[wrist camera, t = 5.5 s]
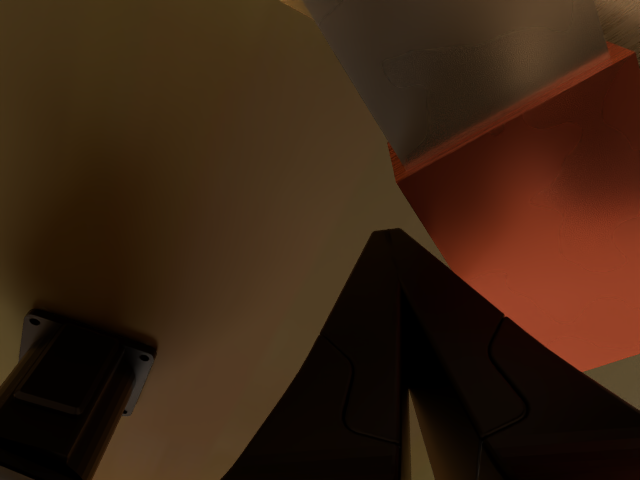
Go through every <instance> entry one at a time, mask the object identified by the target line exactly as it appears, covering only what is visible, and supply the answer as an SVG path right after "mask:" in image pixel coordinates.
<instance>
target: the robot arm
mask: <svg viewBox="0 0 640 480" xmlns="http://www.w3.org/2000/svg"><path fill="white" fill-rule="evenodd" d="M156 355H157V353H156V351H155V350H154V349H153V348H152V347H149V346H146V345H144V344H141V343H138V342H135V341H132V340H129V339H126V338H123V337H120V336H117V335H114V334H111V333H108V332H105V331H102V330H99V329H96V328H93V327H90V326H87V325H84V324H81V323H78V322H75V321H72V320H69V319H66V318H63V317H60V316H57V315H54V314H51V313H48V312H45V311H42V310H39V309H32V310H30V311H29V312H28V314H27V315H26V316H25V318H24V323H23V331H22V339H21V347H20V355H19V362H18V364H17V365H16V367H15V368H14V369H13V370H12V372H11V373H10V374H9V376H8V377H7V378H6V380H5V381H4V382H3V384H2V385H1V386H0V480H92V478H93V476H94V474H95V472H96V470H97V468H98V465H99V463H100V461H101V459H102V457H103V455H104V452H105V450H106V448H107V446H108V444H109V442H110V440H111V437H112V435H113V433H114V431H115V429H116V427H117V424H118V422H119V420H120V418H121V416H130V415H131V414H132V412H133V409H134V407H135V405H136V402H137V400H138V398H139V395H140V393H141V391H142V388H143V386H144V383H145V381H146V379H147V376H148V374H149V372H150V369H151V367H152V364H153V362H154V360H155V357H156ZM409 391H410V395H411V398H412V402H413V405H414V408H415V412H416V415H417V419H418V422H419V426H420V429H421V433H422V436H423V439H424V443H425V446H426V450H427V453H428V457H429V460H430V464H431V467H432V470H433V474H434V477H435V480H640V411H639V410H638V409H636V408H635V407H633V406H632V405H630V404H629V403H627V402H626V401H624V400H623V399H621V398H620V397H618V396H617V395H615V394H614V393H612V392H611V391H609V390H608V389H606V388H605V387H603V386H602V385H600V384H599V383H597V382H596V381H594V380H593V379H591V378H590V377H588V376H587V375H585V374H584V373H582V372H581V371H579V370H578V369H577V368H575V367H574V366H572V365H571V364H569V363H568V362H567V361H565V360H564V359H562V358H561V357H559V356H558V355H557V354H555V353H554V352H552V351H551V350H549V349H548V348H547V347H545V346H544V345H543V344H542V343H540V342H539V341H538V340H536V339H535V338H534V337H533V336H531V335H530V334H529V333H527V332H526V331H525V330H524V329H522V328H521V327H520V326H519V325H517V324H516V323H515V322H514V321H513V320H511V319H510V318H509V317H507V316H506V317H505V315H504V313H503V312H501V311H500V310H499V309H498V308H497V307H495V306H494V305H493V304H492V303H490V302H489V301H488V300H487V299H486V298H484V297H483V296H482V295H481V294H480V293H478V292H477V291H476V290H475V289H473V288H472V287H471V286H470V285H469V284H467V283H466V282H465V281H464V280H463V279H461V278H460V277H459V276H458V275H457V274H455V273H454V272H453V271H452V270H450V269H449V268H448V267H447V266H446V265H444V264H443V263H442V262H441V261H440V260H438V259H437V258H436V257H435V256H433V255H432V254H431V253H430V252H429V251H427V250H426V249H425V248H424V247H423V246H421V245H420V244H419V243H418V242H416V241H415V240H414V239H413V238H412V237H410V236H409V235H408V234H407V233H406V232H404V231H403V230H402V229H400V228H395V229H387V230H379V231H374V232H372V234H371V236H370V238H369V239H368V241H367V243H366V245H365V247H364V249H363V251H362V253H361V255H360V257H359V259H358V261H357V263H356V264H355V266H354V268H353V270H352V272H351V274H350V276H349V278H348V280H347V282H346V284H345V286H344V288H343V289H342V291H341V293H340V295H339V297H338V299H337V301H336V303H335V305H334V307H333V309H332V311H331V313H330V315H329V316H328V318H327V320H326V322H325V324H324V326H323V328H322V330H321V332H320V335H319V336H318V337H317V339H316V341H315V343H314V345H313V347H312V349H311V351H310V352H309V354H308V356H307V358H306V360H305V361H304V363H303V365H302V367H301V368H300V370H299V372H298V373H297V375H296V376H295V378H294V379H293V381H292V382H291V384H290V385H289V387H288V388H287V390H286V391H285V393H284V394H283V396H282V397H281V399H280V400H279V401H278V403H277V404H276V406H275V407H274V409H273V410H272V411H271V413H270V414H269V416H268V417H267V418H266V420H265V421H264V423H263V424H262V425H261V427H260V428H259V430H258V431H257V433H256V434H255V435H254V437H253V438H252V440H251V441H250V442H249V444H248V445H247V447H246V448H245V449H244V451H243V452H242V454H241V455H240V457H239V458H238V459H237V461H236V462H235V463H234V465H233V466H232V467H231V468H230V469H229V471H228V472H227V473H226V474H225V475H224V476H223V477H222V478H221V479H220V480H411V453H410V420H409Z"/></svg>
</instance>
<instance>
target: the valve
mask: <svg viewBox="0 0 640 480" xmlns="http://www.w3.org/2000/svg"><path fill="white" fill-rule="evenodd" d="M279 1H281V2H283V3H285V4H286V5H288V6H290V7H292V8H293V9H295V10H297V11H299V12H301V13H302V14H304V15H306V16H308V17H309V18H311V19H313V17H312V16H311V14H310V12H309V11H308V9H307V8H306V6H305V4H304V3H303V1H302V0H279ZM594 1H595V5H596V8H597V12H598V16H599V19H600V23H601V26H602V30H603V33H604V37H605V40H606V41H608V42H610V43H613V44H615V45H618V46H621V47H623V48H626V49H628V50H631V51H634V52H636V56H637V60H638V64H639V68H640V0H594ZM313 20H314V19H313Z"/></svg>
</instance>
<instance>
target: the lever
mask: <svg viewBox="0 0 640 480" xmlns="http://www.w3.org/2000/svg"><path fill="white" fill-rule="evenodd" d="M302 1H303V3H304V4H305V6H306V8H307V9H308V11H309V12H310V14H311V16H312V17H313V19H314V21H315V22H316V24H317V26H318V27H319V29H320V30H321V32H322V34H323V35H324V37H325V39H326V40H327V42H328V44H329V45H330V47H331V48H332V50H333V52H334V53H335V55H336V57H337V58H338V60H339V61H340V63H341V65H342V66H343V68H344V70H345V71H346V73H347V75H348V76H349V78H350V79H351V81H352V83H353V84H354V86H355V88H356V89H357V91H358V93H359V94H360V96H361V97H362V99H363V101H364V102H365V104H366V106H367V107H368V109H369V111H370V112H371V114H372V115H373V117H374V119H375V120H376V122H377V124H378V125H379V127H380V129H381V130H382V132H383V133H384V135H385V137H386V138H387V140H388V142H387V144H388V148H389V153H390V157H391V162H392V166H393V171H394V175H395V179H396V183H397V185H398V186H399V188H400V189H401V191H402V193H403V194H404V196H405V197H406V199H407V200H408V202H409V204H410V205H411V207H412V208H413V210H414V211H415V213H416V215H417V216H418V218H419V219H420V221H421V222H422V224H423V226H424V227H425V229H426V230H427V232H428V233H429V235H430V237H431V238H432V240H433V241H434V243H435V244H436V246H437V248H438V249H439V251H440V252H441V254H442V255H443V257H444V259H445V260H446V262H447V263H448V265H449V266H450V268H451V270H452V271H453V272H454V273H455V274H457V275H458V276H459V277H460V278H461V279H463V280H464V281H465V282H466V283H467V284H469V285H470V286H471V287H472V288H473V289H475V290H476V291H477V292H478V293H480V294H481V295H482V296H483V297H484V298H486V299H487V300H488V301H489V302H490V303H492V304H493V305H494V306H495V307H497V308H498V309H499V310H500V311H501V312H503V313H504V315H505V317H506V316H507V317H509V318H510V319H511V320H513V321H514V322H515V323H516V324H517V325H519V326H520V327H521V328H522V329H524V330H525V331H526V332H527V333H529V334H530V335H531V336H533V337H534V338H535V339H536V340H538V341H539V342H540V343H542V344H543V345H544V346H545V347H547V348H548V349H549V350H551V351H552V352H554V353H555V354H557V355H558V356H559V357H561V358H562V359H564V360H565V361H567V362H568V363H569V364H571V365H572V366H574V367H575V368H577V369H578V370H579V371H581V372H583V371H587V370H590V369H593V368H596V367H599V366H602V365H605V364H609V363H612V362H615V361H618V360H621V359H624V358H628V357H631V356H634V355H637V354H640V68H639V64H638V60H637V56H636V52H634V51H631V50H628V49H626V48H623V47H621V46H618V45H615V44H613V43H610V42H608V41H606V40H605V37H604V33H603V30H602V26H601V23H600V19H599V16H598V12H597V8H596V5H595V1H594V0H302Z"/></svg>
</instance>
